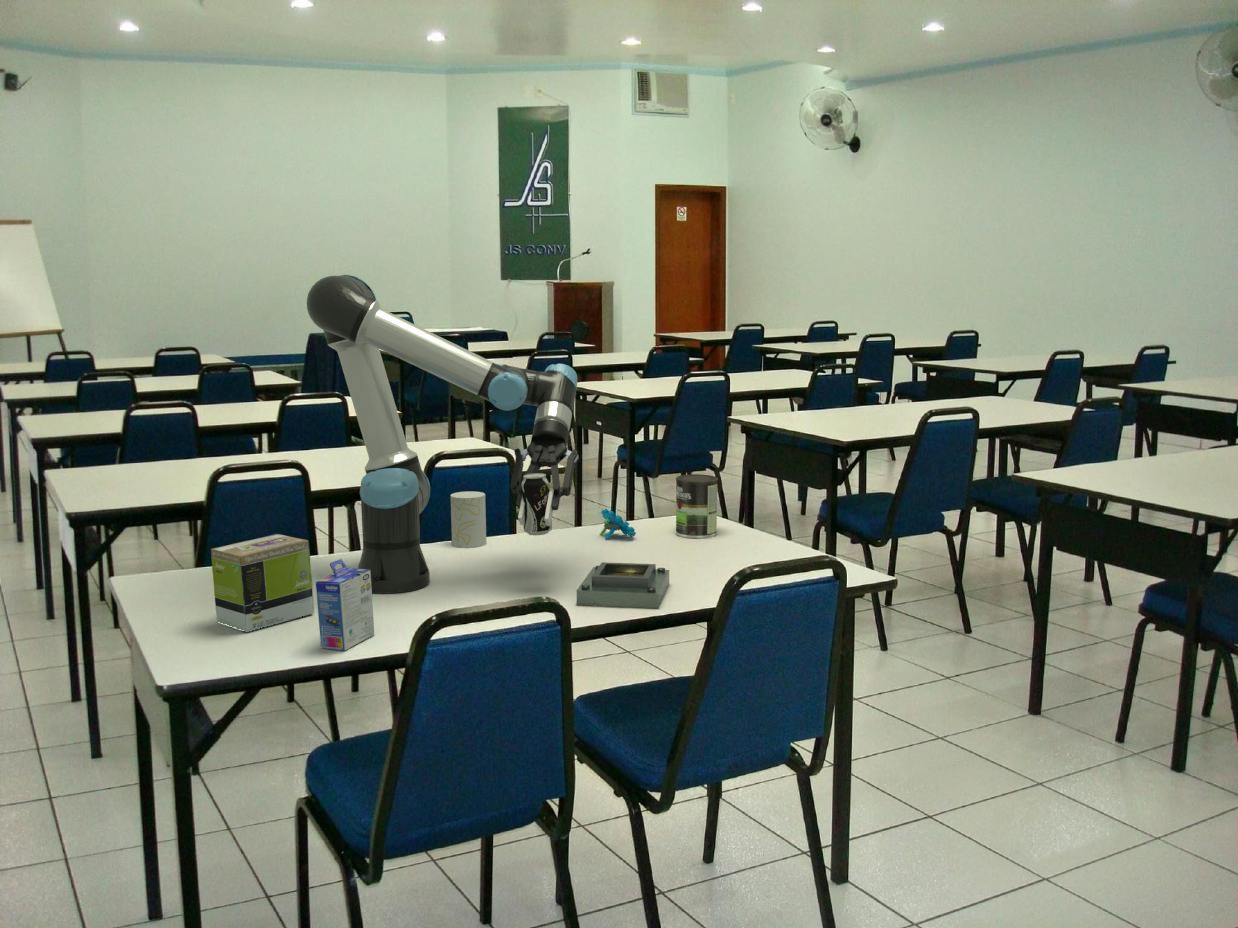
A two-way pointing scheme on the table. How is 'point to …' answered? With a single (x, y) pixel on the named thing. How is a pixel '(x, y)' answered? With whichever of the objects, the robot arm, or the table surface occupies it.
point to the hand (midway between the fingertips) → (534, 521)
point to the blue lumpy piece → (615, 524)
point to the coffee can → (696, 506)
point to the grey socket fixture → (624, 586)
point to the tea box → (262, 581)
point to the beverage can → (535, 503)
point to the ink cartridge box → (345, 607)
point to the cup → (468, 519)
